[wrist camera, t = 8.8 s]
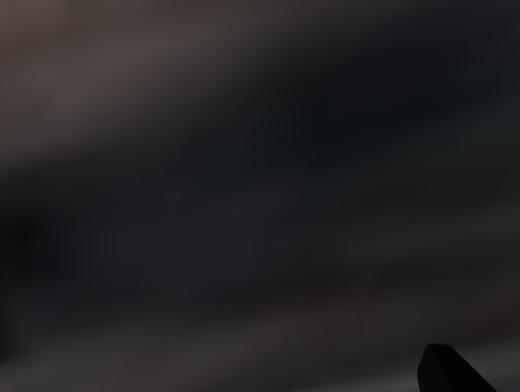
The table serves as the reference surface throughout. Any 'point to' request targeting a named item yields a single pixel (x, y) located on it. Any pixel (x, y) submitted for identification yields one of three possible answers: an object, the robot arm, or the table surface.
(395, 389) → the table surface
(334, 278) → the table surface
